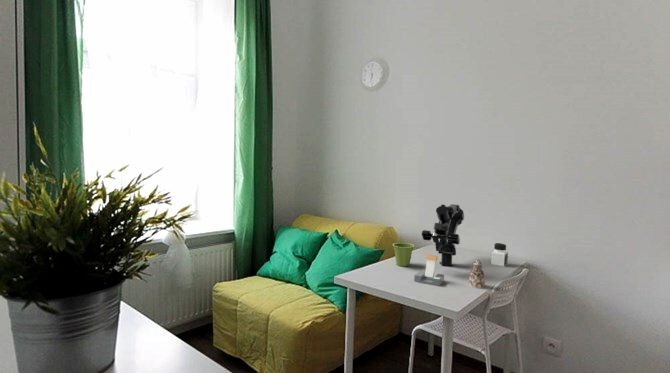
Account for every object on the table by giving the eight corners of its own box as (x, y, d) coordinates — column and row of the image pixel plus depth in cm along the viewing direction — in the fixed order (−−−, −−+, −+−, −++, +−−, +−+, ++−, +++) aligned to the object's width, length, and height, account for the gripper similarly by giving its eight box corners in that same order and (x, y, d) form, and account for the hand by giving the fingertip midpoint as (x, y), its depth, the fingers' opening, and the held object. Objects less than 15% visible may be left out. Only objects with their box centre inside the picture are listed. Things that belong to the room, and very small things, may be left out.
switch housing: (420, 276, 188) (420, 270, 187) (444, 280, 181) (444, 274, 181) (414, 281, 180) (414, 274, 180) (439, 286, 174) (439, 279, 173)
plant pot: (412, 262, 213) (413, 242, 212) (414, 268, 201) (415, 247, 200) (391, 261, 214) (392, 242, 213) (392, 267, 202) (393, 246, 201)
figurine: (466, 286, 175) (467, 260, 174) (470, 281, 181) (471, 257, 180) (482, 289, 171) (484, 263, 170) (486, 285, 177) (487, 260, 176)
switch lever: (425, 276, 183) (428, 255, 185) (434, 278, 180) (437, 256, 183) (423, 275, 180) (426, 254, 183) (433, 277, 178) (436, 255, 180)
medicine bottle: (504, 266, 208) (505, 245, 207) (490, 264, 212) (492, 243, 211) (507, 264, 213) (508, 243, 212) (494, 261, 218) (495, 241, 217)
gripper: (423, 215, 198) (415, 239, 189) (459, 218, 188) (453, 244, 180) (427, 227, 205) (420, 251, 196) (462, 231, 196) (456, 256, 187)
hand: (436, 250), depth 190 cm, fingers closed
